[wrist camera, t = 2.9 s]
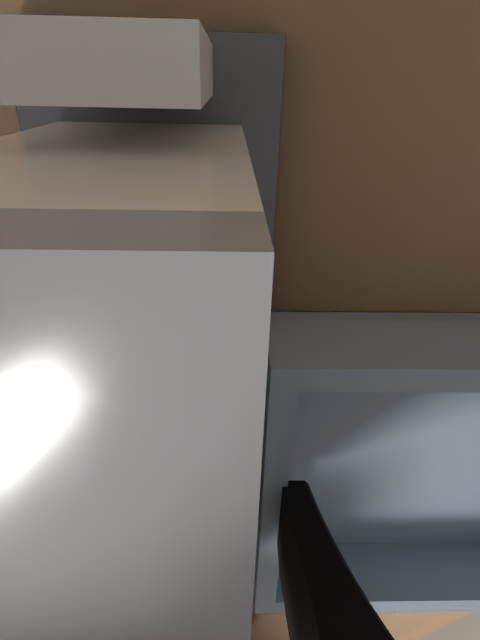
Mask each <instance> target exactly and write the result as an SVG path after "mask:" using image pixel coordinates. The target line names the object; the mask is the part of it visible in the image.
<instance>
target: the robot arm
mask: <svg viewBox="0 0 480 640" xmlns="http://www.w3.org/2000/svg"><path fill="white" fill-rule="evenodd" d="M277 548H278V563H279V575H280V582H281V588H282V594H283V600H284V607H285V613H286V619H287V625H288V631H289V638H290V640H394V638H393V637H392V635H391V634H390V632H389V631H388V630H387V628H386V627H385V625H384V624H383V622H382V621H381V619H380V618H379V616H378V614H377V613H376V611H375V610H374V608H373V607H372V605H371V603H370V602H369V600H368V599H367V597H366V595H365V594H364V592H363V590H362V589H361V587H360V586H359V584H358V582H357V581H356V579H355V577H354V575H353V574H352V572H351V570H350V568H349V567H348V565H347V563H346V561H345V559H344V558H343V556H342V554H341V552H340V550H339V548H338V547H337V545H336V543H335V541H334V539H333V537H332V535H331V533H330V531H329V529H328V527H327V525H326V523H325V521H324V519H323V517H322V515H321V512H320V510H319V508H318V506H317V504H316V501H315V499H314V496H313V494H312V491H311V489H310V486H309V484H308V483H307V482H306V481H305V480H288V487H282V497H281V507H280V518H279V528H278V538H277Z"/></svg>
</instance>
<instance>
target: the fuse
mask: <svg viewBox="0 0 480 640" xmlns="http://www.w3.org/2000/svg"><path fill="white" fill-rule="evenodd" d="M273 268H274V248H273V244H272V241H271V237H270V233H269V229H268V225H267V221H266V217H265V213H264V209H263V206H262V202H261V198H260V194H259V190H258V186H257V182H256V178H255V174H254V171H253V167H252V163H251V159H250V155H249V151H248V147H247V143H246V139H245V136H244V132H243V128H242V125H214V124H163V123H111V122H60V121H59V122H55V123H51V124H47V125H43V126H40V127H36V128H32V129H28V130H24V131H21V132H17V133H13V134H9V135H5V136H2V137H0V640H251V627H252V611H253V595H254V578H255V562H256V546H257V530H258V513H259V497H260V481H261V464H262V448H263V432H264V415H265V399H266V383H267V366H268V350H269V334H270V317H271V301H272V285H273Z"/></svg>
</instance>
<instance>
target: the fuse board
mask: <svg viewBox="0 0 480 640" xmlns="http://www.w3.org/2000/svg"><path fill="white" fill-rule="evenodd" d="M285 41H286V33H247V32H208V31H205V30H204V28H203V26H202V24H201V22H200V20H199V19H170V18H132V17H94V16H56V15H18V14H0V105H14V106H16V109H17V113H18V118H19V123H20V128H21V131H24V130H28V129H32V128H36V127H40V126H43V125H47V124H51V123H55V122H59V121H60V122H111V123H163V124H214V125H242V128H243V132H244V136H245V139H246V143H247V147H248V151H249V155H250V159H251V163H252V167H253V171H254V174H255V178H256V182H257V186H258V190H259V194H260V198H261V202H262V206H263V209H264V213H265V217H266V221H267V225H268V229H269V233H270V237H271V241H272V244H273V243H274V226H275V209H276V192H277V176H278V159H279V142H280V125H281V108H282V91H283V75H284V58H285Z"/></svg>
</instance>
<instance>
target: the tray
mask: <svg viewBox="0 0 480 640" xmlns="http://www.w3.org/2000/svg"><path fill="white" fill-rule="evenodd" d="M288 480H305V481H306V482H307V483H308V484H309V486H310V489H311V491H312V494H313V496H314V499H315V501H316V504H317V506H318V508H319V510H320V512H321V515H322V517H323V519H324V521H325V523H326V525H327V527H328V529H329V531H330V533H331V535H332V537H333V539H334V541H335V543H336V545H337V547H338V548H339V550H340V552H341V554H342V556H343V558H344V559H345V561H346V563H347V565H348V567H349V568H350V570H351V572H352V574H353V575H354V577H355V579H356V581H357V582H358V584H359V586H360V587H361V589H362V590H363V592H364V594H365V595H366V597H367V599H368V600H369V602H370V603H371V605H372V607H373V608H374V610H375V611H376V612H441V611H480V313H396V312H271V317H270V334H269V350H268V366H267V383H266V399H265V415H264V432H263V448H262V464H261V481H260V497H259V513H258V530H257V546H256V562H255V578H254V606H255V614H277V613H285V607H284V600H283V594H282V588H281V582H280V575H279V563H278V548H277V538H278V528H279V518H280V507H281V497H282V487H288Z"/></svg>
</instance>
